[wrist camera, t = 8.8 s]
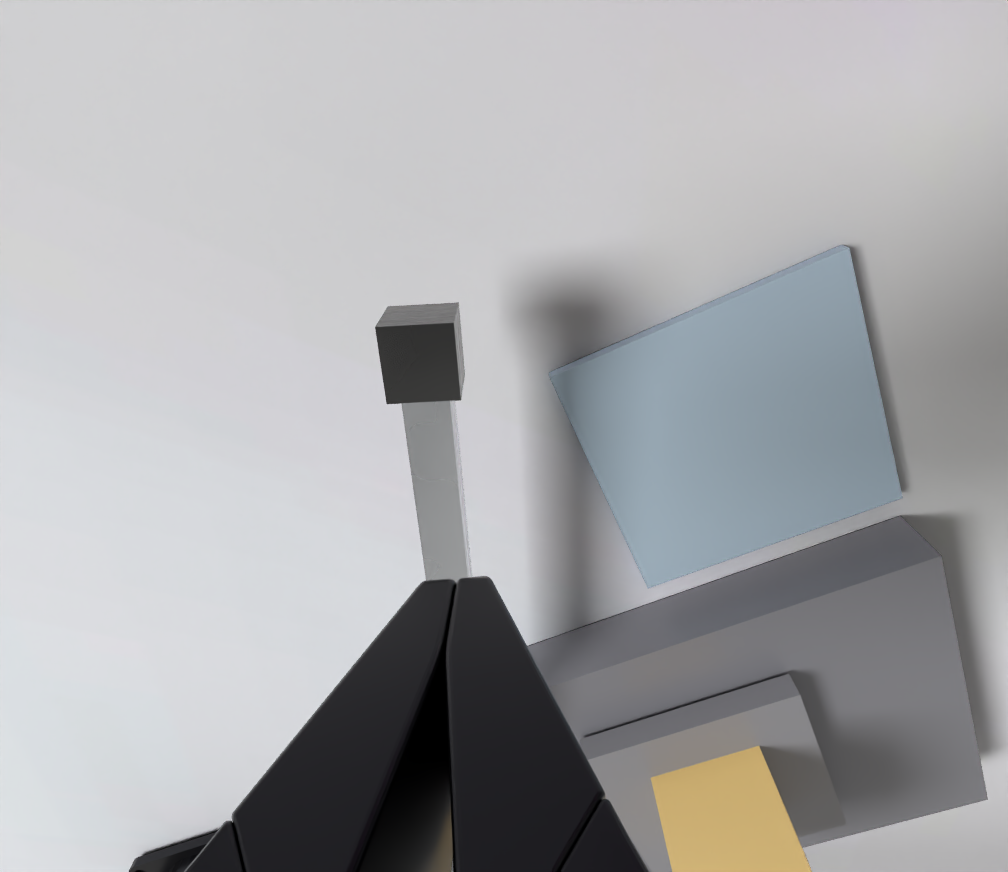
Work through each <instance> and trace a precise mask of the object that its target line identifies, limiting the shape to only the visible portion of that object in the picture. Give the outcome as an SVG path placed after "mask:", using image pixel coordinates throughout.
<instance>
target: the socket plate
mask: <svg viewBox="0 0 1008 872" xmlns="http://www.w3.org/2000/svg"><path fill="white" fill-rule="evenodd" d="M527 647H528V649H529V651H530V653H531V655H532V656H533V658H534V660H535V662H536V664H537V666H538V668H539V670H540V671H541V673H542V675H543V677H544V679H545V681H546V683H547V685H548V686H549V688H550V690H551V692H552V694H553V696H554V698H555V700H556V701H557V703H558V705H559V707H560V709H561V711H562V713H563V715H564V717H565V718H566V720H567V722H568V724H569V726H570V728H571V730H572V732H573V733H574V735H575V737H576V739H577V741H578V743H579V745H580V739H583V738H586V737H589V736H592V735H595V734H599V733H602V732H605V731H608V730H611V729H614V728H618V727H621V726H624V725H627V724H630V723H634V722H637V721H640V720H643V719H646V718H649V717H653V716H656V715H659V714H662V713H665V712H668V711H672V710H675V709H678V708H681V707H684V706H688V705H691V704H694V703H697V702H700V701H703V700H707V699H710V698H713V697H716V696H719V695H723V694H726V693H729V692H732V691H735V690H738V689H742V688H745V687H748V686H751V685H754V684H758V683H761V682H764V681H767V680H770V679H773V678H777V677H780V676H783V675H786V674H789V675H790V676H791V678H792V680H793V682H794V684H795V686H796V688H797V690H798V692H799V694H800V696H801V698H802V701H803V704H804V707H805V710H806V712H807V715H808V718H809V721H810V723H811V726H812V729H813V732H814V734H815V737H816V740H817V743H818V745H819V748H820V751H821V754H822V756H823V759H824V762H825V765H826V768H827V770H828V773H829V776H830V779H831V781H832V784H833V787H834V790H835V792H836V795H837V798H838V801H839V803H840V806H841V809H842V812H843V814H844V817H845V820H846V823H847V825H843V826H840V827H836V828H832V829H828V830H824V831H821V832H817V833H813V834H809V835H806V836H802V837H798V839H799V841H800V844H801V846H802V848H803V847H807V846H811V845H814V844H818V843H822V842H826V841H830V840H834V839H838V838H841V837H845V836H849V835H853V834H857V833H861V832H864V831H868V830H872V829H876V828H880V827H884V826H888V825H891V824H895V823H899V822H903V821H907V820H911V819H914V818H918V817H922V816H926V815H930V814H934V813H938V812H941V811H945V810H949V809H953V808H957V807H961V806H964V805H968V804H972V803H976V802H980V801H984V800H988V798H987V792H986V787H985V782H984V777H983V771H982V766H981V761H980V756H979V750H978V745H977V740H976V735H975V729H974V724H973V719H972V713H971V708H970V703H969V698H968V692H967V687H966V682H965V677H964V671H963V666H962V661H961V656H960V650H959V645H958V640H957V634H956V629H955V624H954V619H953V613H952V608H951V603H950V598H949V592H948V587H947V582H946V577H945V571H944V566H943V561H942V556H941V555H940V554H939V553H938V552H937V551H936V550H935V549H934V548H933V547H932V546H931V545H930V544H929V543H928V542H927V541H926V540H925V539H924V538H923V537H922V536H921V535H920V534H919V533H918V532H917V531H916V530H915V529H913V528H912V527H911V526H910V525H909V524H908V523H907V522H906V521H905V520H904V519H903V518H902V517H901V516H899V517H896V518H893V519H890V520H887V521H884V522H882V523H879V524H876V525H873V526H870V527H867V528H864V529H862V530H859V531H856V532H853V533H850V534H847V535H844V536H842V537H839V538H836V539H833V540H830V541H827V542H824V543H822V544H819V545H816V546H813V547H810V548H807V549H804V550H802V551H799V552H796V553H793V554H790V555H787V556H784V557H782V558H779V559H776V560H773V561H770V562H767V563H764V564H762V565H759V566H756V567H753V568H750V569H747V570H744V571H742V572H739V573H736V574H733V575H730V576H727V577H724V578H722V579H719V580H716V581H713V582H710V583H707V584H704V585H702V586H699V587H696V588H693V589H690V590H687V591H684V592H682V593H679V594H676V595H673V596H670V597H667V598H664V599H662V600H659V601H656V602H653V603H650V604H647V605H644V606H642V607H639V608H636V609H633V610H630V611H627V612H624V613H622V614H619V615H616V616H613V617H610V618H607V619H604V620H602V621H599V622H596V623H593V624H590V625H587V626H584V627H582V628H579V629H576V630H573V631H570V632H567V633H564V634H562V635H559V636H556V637H553V638H550V639H547V640H544V641H542V642H539V643H536V644H533V645H530V646H527ZM580 747H581V745H580ZM626 832H627V831H626ZM627 834H628V833H627ZM628 836H629V834H628ZM629 837H630V836H629ZM630 839H631V838H630ZM631 841H632V839H631ZM632 843H633V844H634V842H633V841H632ZM634 846H635V844H634ZM635 848H636V850H637V851H638V853H639V855H640V857H641V858H642V860H643V862H644V864H645V865H646V867H647V869H648V871H649V872H652V871H651V870H650V868H649V866H648V865H647V863H646V862H645V860H644V858H643V857H642V855H641V854H640V852H639V850H638V849H637V847H636V846H635ZM669 872H672V871H669Z"/></svg>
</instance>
